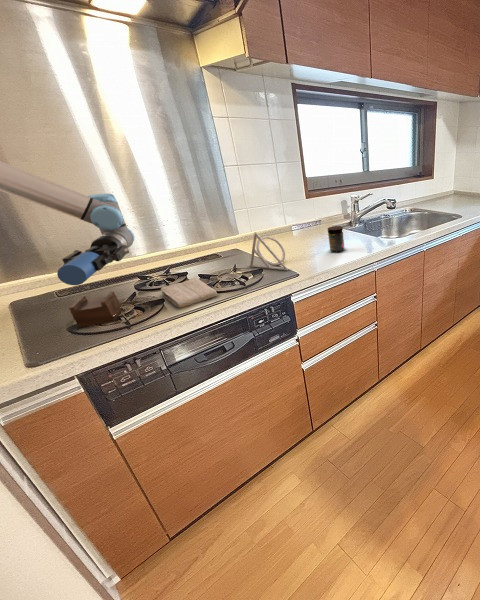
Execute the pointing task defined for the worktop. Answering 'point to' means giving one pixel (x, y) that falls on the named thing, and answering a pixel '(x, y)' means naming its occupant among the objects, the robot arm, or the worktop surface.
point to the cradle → (95, 310)
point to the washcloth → (188, 292)
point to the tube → (78, 269)
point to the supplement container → (336, 239)
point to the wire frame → (269, 251)
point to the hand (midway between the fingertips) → (81, 267)
